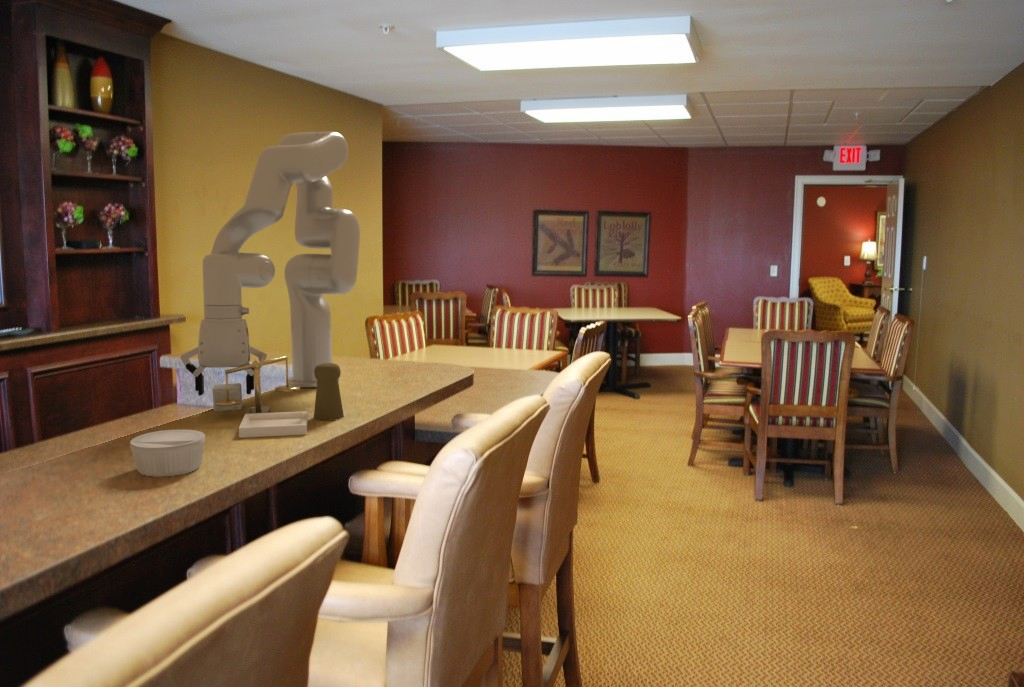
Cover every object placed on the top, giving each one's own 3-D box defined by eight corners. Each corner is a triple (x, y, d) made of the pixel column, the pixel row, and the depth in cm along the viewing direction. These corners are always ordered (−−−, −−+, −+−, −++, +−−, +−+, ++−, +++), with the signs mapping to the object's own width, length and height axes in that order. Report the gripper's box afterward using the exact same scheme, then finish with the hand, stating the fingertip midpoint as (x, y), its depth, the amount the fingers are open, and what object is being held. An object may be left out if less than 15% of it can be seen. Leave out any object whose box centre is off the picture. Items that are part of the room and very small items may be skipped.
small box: (215, 406, 182) (213, 384, 182) (242, 405, 184) (241, 382, 183) (213, 412, 177) (211, 389, 176) (241, 410, 178) (240, 387, 178)
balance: (217, 414, 174) (214, 355, 172) (301, 410, 178) (299, 353, 176) (213, 420, 168) (210, 360, 167) (300, 417, 172) (298, 357, 170)
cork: (336, 421, 168) (335, 366, 167) (308, 419, 170) (306, 365, 168) (348, 414, 174) (347, 361, 173) (321, 413, 176) (319, 360, 174)
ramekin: (140, 484, 128) (138, 450, 127) (124, 467, 137) (122, 435, 136) (215, 472, 134) (214, 439, 133) (195, 456, 143) (193, 426, 142)
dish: (245, 422, 167) (245, 413, 167) (308, 420, 169) (307, 411, 169) (239, 437, 155) (238, 428, 155) (306, 434, 158) (306, 425, 157)
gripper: (267, 311, 183) (268, 390, 185) (182, 312, 179) (185, 391, 181) (264, 314, 175) (266, 396, 177) (176, 315, 172) (178, 398, 174)
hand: (225, 393), depth 179 cm, fingers open, 9 cm apart
